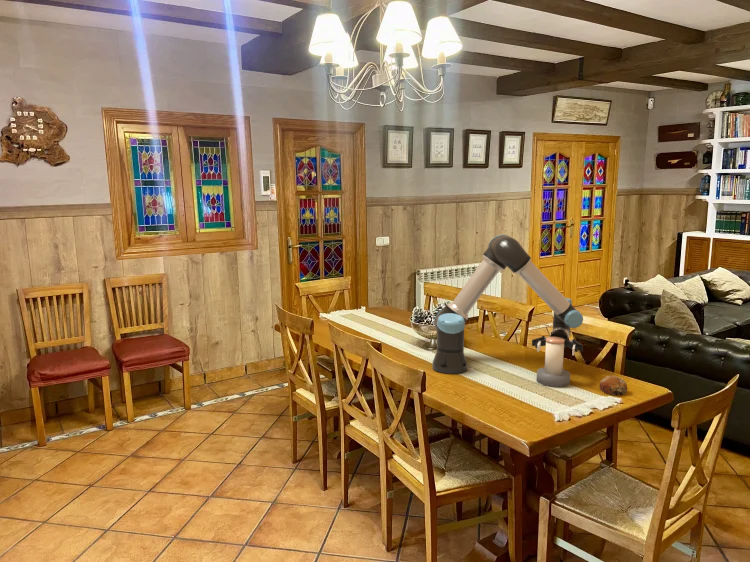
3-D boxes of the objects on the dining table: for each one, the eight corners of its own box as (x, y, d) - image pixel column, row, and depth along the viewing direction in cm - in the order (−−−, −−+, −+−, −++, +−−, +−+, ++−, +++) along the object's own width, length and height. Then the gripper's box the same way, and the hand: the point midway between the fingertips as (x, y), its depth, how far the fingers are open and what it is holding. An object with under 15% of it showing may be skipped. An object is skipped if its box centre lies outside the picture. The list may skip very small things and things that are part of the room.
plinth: (547, 388, 218) (547, 378, 217) (530, 377, 230) (531, 368, 230) (576, 385, 221) (577, 376, 220) (558, 375, 234) (558, 366, 233)
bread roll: (626, 399, 217) (627, 379, 219) (626, 397, 208) (628, 375, 210) (598, 395, 221) (600, 375, 223) (598, 392, 212) (600, 372, 214)
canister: (550, 375, 221) (552, 341, 219) (540, 370, 228) (542, 337, 226) (566, 374, 223) (568, 340, 220) (556, 368, 230) (558, 336, 227)
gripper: (589, 348, 238) (587, 362, 219) (529, 342, 247) (523, 355, 228) (590, 332, 237) (589, 344, 217) (530, 326, 246) (524, 337, 227)
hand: (555, 350), depth 223 cm, fingers open, 13 cm apart
